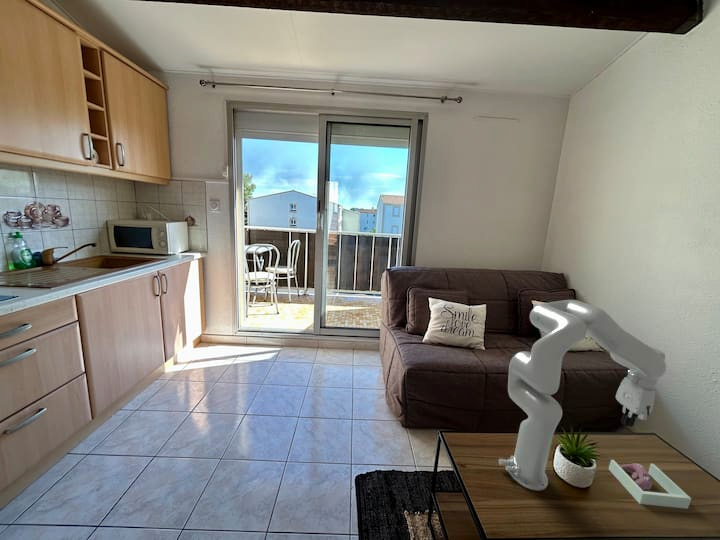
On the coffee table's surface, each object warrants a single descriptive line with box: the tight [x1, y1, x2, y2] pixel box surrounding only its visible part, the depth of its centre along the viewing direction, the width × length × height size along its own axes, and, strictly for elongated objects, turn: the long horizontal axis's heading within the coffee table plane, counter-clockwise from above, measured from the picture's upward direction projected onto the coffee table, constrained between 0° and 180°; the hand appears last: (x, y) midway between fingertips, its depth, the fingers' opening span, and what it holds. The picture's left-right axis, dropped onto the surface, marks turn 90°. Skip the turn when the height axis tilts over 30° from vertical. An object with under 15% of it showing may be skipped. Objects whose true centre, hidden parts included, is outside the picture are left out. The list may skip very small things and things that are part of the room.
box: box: [608, 459, 692, 510], centre depth 100 cm, size 15×13×4 cm
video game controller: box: [620, 462, 653, 491], centre depth 102 cm, size 10×5×7 cm, turn 153°
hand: (626, 424), depth 108 cm, fingers closed
